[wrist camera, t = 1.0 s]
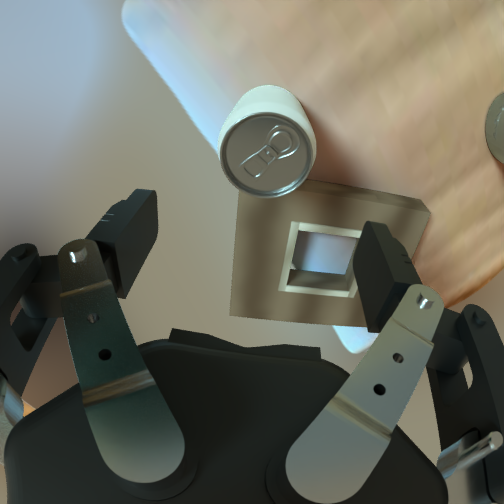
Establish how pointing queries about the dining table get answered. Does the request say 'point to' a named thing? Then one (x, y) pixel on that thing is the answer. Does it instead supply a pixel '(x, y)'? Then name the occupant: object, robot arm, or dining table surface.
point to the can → (267, 143)
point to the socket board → (283, 243)
